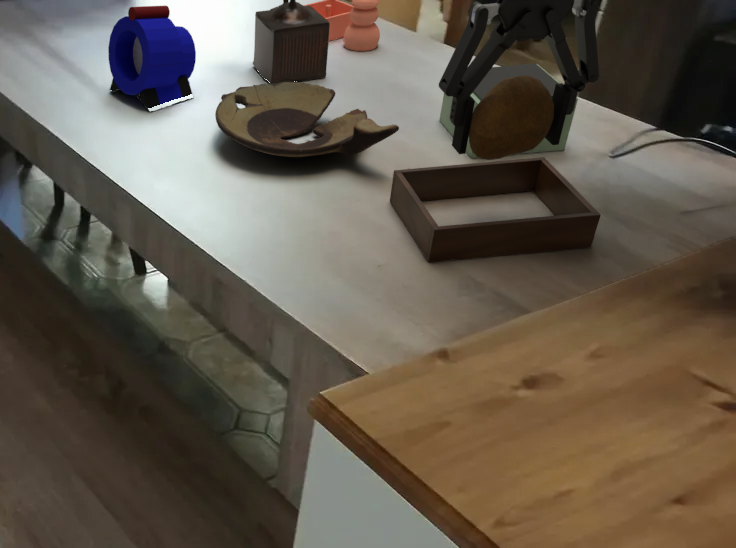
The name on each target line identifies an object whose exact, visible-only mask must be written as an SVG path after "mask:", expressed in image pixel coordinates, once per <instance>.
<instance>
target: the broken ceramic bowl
mask: <svg viewBox="0 0 736 548" xmlns="http://www.w3.org/2000/svg"><path fill="white" fill-rule="evenodd" d="M335 97H336V92H335V90H334V89H332V88H329V87H325V86H321V85H319V84H310V83H306V82H304V81H301V82H281V83H259V84H253V85H250V86H240V87H237V88H236V90H235V91H233V92H229V93H224V94H222V95H221V97H220V100H221V101H220V102H219V103H218V105H217V106H216V110H215V115H214V117H215V121H216V124H217V126H218V128H219V129H220V130H221V132H222V133H223V134H224V135H226V136H227V137H228V138H230V139H231V140H233V141H235V142H236V143H239V144H240V145H242V146H244V147H246V148H249V149H251V150H254V151H257V152H259V153H260V152H261V153H264V154H268V155H272V156H278V157H286V158H304V157H314V156H321V155H326V154H332V153H340V154H343V155H347V156H355V155H359V154H361V153H363V152H364V151H366V150H367V149H369V148H371V147H373V146H374V145H376V144H378V143H380V142H382V141H384V140H386V139H387V138H390V137H391V136H393V135H394V134H396V133H397V132H398V131H399V130H400V126H399V125H397V124H388V125H380V124H379V125H378V124H377V123H376V121H374V120H373V119H372V118H368V113H367V111H366V110H365V109H364V110H361V109H359V108H355V109H353V110H351V111H349V112H345V114H343V115H341V116H338V117H336V118H335V117H334V119H332V120H329V121H327V122H324V123H323V124H320V125H318V126H315V125H316V124H317V123H318V121H319V120H321V118H322V116H323V115H324V113H325V112H326V110H327V109H328V107H329V106H330V105H331V103H332V102H333V100H334V98H335ZM237 104H238V105H242V106H244V107H242V108H239V107H238V105H237ZM314 126H315V127H314ZM313 127H314V128H313ZM311 128H313V129H312V130H311ZM310 130H311V132H312V133H313V135H314V136H316V137H317V138H315V139H313V140H307V141H305V142H300V143H296V142H292V141H289V140H287V139H285V138H290V137H296V136H300V135H303V134H305V133H306V132H309V131H310Z"/></svg>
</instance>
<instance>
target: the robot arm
mask: <svg viewBox="0 0 736 548" xmlns="http://www.w3.org/2000/svg"><path fill="white" fill-rule="evenodd" d="M599 4H600V0H497V1H496V2H493V3H485V4H484V3H483V4H482V3H481V2H479V1H473V3H471V5H470V7H469V13H468V17H467V18H468V19H467V24H466V26H465V28H464V30H463V33H462V34H461V36H460V38H459V40H458V43H457V45H456V46H455V49H454V51H453V53H452V55H451V57H450V59H449V62H448V64H447V66H446V67H445V70H444V72H443V74H442V76H441V78H440V80H439V82H438V88H439V89H440V90H441V91H442V92H443V94H444V93H445V94H446V95H447V96H453V100H452V105H451V111H450V121H451V123H452V124H453V125H454V126H455V129H454V135H453V136H452V141H451V146H452V148H454V150H455V151H456V152H457V153H458V155H465V154H467V153H466V147H467V142H468V137H469V131H470V126H471V120H472V115H473V109H474V104H475V100H474V99H473V98H472V97H471V96H470V95H471V94H472V93H473V91H474V90H475V89H476V87H477V86H478V85H479V84H480V82H481V81H482V80H483V78H484V77H485V76H486V74H487V73H488V72H489V71H490V69H491V68H492V67H494V65H495V64H496V63H497V62H498V60H499V59H500V58H501V56H503V54H504V52H506V51H507V50H509V49H510V48H511V47H512V46H513V45H514V43H515V42H517V43H519V42H520V43H521V42H525V41H528V40H531V39H532V40H535V41H536V40H537V41H540V40H545V39H546V41H547V44H548V47H549V49H550V51H551V53H552V56H553V58H554V61H555V63H556V66H557V68H558V70H559V73H560V76H561V78H562V80H563V81H564V82H559V83H558V84H556V85H555V89H554V94H553V98H552V100H553V103H554V120H553V122H552V125H551V127H550V129H549V131H548V133H547V135H546V136H545V138H546V139H547V140H548V141H549V142H550V143H551V144H552V145H559V141H560V137H561V133H562V129H563V125H564V121H565V117H566V115H571V113H572V112H573V110H574V105H575V102H576V98H578V94H579V93H581V92H583V91H584V90H585V88H586V84H588V83H592V84H593V83H595V82H597V81H598V80H599V78H600V69H599V56H598V41H597V29H596V28H597V27H596V16H597V12H598V8H599ZM570 11H572V14H573V15H574V26H575V38H576V50H577V60H578V67H577V64H576V62H575V60H574V57H573V55H572V51H571V49H570V47H569V44H568V41H567V39H566V34H565V31H564V29H563V26H562V23H561V22H562V21H563V20H564V19H565V17H566V16H567V15H568V14H569V12H570ZM494 17H497V19H498V23H497V24H496V26H495V27H494V28H493V29H492V31H491V32H490V34H489V38H488V40H487V41H486V42H485V44H484V45H483V47H482V48H481V49H480V50H479V52H478V53H477V54H476V56H475V57H474V55H475V53H476V51H477V50H478V48H479V45H480V43H481V42H482V39H483V37H484V35H485V32H486V30H487V26H490V25H491V24H492V20H493V19H494ZM473 57H474V58H473Z"/></svg>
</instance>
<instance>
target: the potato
mask: <svg viewBox="0 0 736 548" xmlns="http://www.w3.org/2000/svg"><path fill="white" fill-rule="evenodd" d="M553 120H554V103H553V100H552V97H551V95H550V92H549V90H548V89H547V88H546V87H545V86H544V85H543V83H542V82H541V81H540V80H538V79H536V78H534V77H531V76H517V77H511V78H507V79H504V80H502V81H501V82H499V83H498V84H497V85H496V86H494V87H493V88H492V89H491V90H490V91H489V92H488V93H487V94H486V96H485V97H484V98H483V99H482V100H481V101H480V102H479V104H478V105H477V106H476V107H475V108H474V111H473V115H472V120H471V126H470V131H469V143H470V147H471V150H472V152H473V153H474V154H475V155H476V156H477V157H479V159H482V160H487V161H493V160H499V159H502V158H505V157H508V156H511V155H512V154H513V155H518V154H517V153H523V152H526V151H529V150H532V149H534V148H535V147H536V146H537V145H538V144H540V143H541V142H542V140H543V139H544V138H545V136H546V135H547V133H548V131H549V129H550V127H551V125H552V122H553Z"/></svg>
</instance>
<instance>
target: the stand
mask: <svg viewBox="0 0 736 548" xmlns="http://www.w3.org/2000/svg"><path fill="white" fill-rule="evenodd" d="M517 76H531V77H534V78H536V79H538V80H540V81H541V82H542V83H543V85H544V86H545V87H546V88H547V89H548V90H549V92H550V95H551V97H552V98H553V94H554V89H555V85H556V84H558V83H560V82H559V81H558V80H557V79H555V78H554V77H553V76H552V75H551V74H550V73H549V72H548V71H546V70H545V69H544V68H543V67H542V66H541V65H539V64H538V63H526V64H516V65H513V64H511V65H502V66H493V67H492V68H491V69H490V71H489V72H488V73H487V74H486V76H485V77H484V78H483V80H482V81H481V82H480V84H479V85H478V86H477V87H476V89H475V90H474V91H473V93H472V94H471V95H470V96H471V97H472V98H473V99H474V100H475V104H474V108H475V107H476V106H477V105H478V104H479V102H480V101H481V100H482V99H483V98H484V97H485V96H486V94H487V93H488V92H489V91H490V90H491V89H492V88H493V87H494V86H496V85H497V84H498V83H499V82H501V81H502V80H504V79H507V78H511V77H517ZM452 100H453V96H447V95H446V94H445V93H444V92H443V96H442V103H441V109H440V114H439V120H438V121H439V122H440V124H441V125H443V127H444V129H446V130H447V132H448V133H449V134H450V135H451V136H452V137H453V135H454V129H455V126H454V125H453V124H452V123H451V121H450V111H451V105H452ZM578 101H579V98H578V97H577V98H576V102H575V105H574V110H573V112H572V113H571V115H566V117H565V121H564V125H563V129H562V133H561V137H560V141H559V145H552V144H551V143H550V142H549V141H548V140H547V139H546V138H544V139H543V140H542V142H541V143H540V144H538V145H537V146H536V147H535V148H534V149H532V150H529V151H526V152H523V153H517V154H516V155H522V154H535V153H545V152H557V151H565V149H566V145H567V142H568V138H569V135H570V130H571V126H572V123H573V120H574V115H575V111H576V109H577V105H578ZM473 111H474V109H473ZM465 154H467V155H468V156H469V158H470V159H476V158H479V157H477V156H476V155H475V154H474V153H473V152H472V150H471V147H470V143H469V137H468V142H467V147H466V153H465ZM512 155H514V154H512ZM479 159H480V158H479Z"/></svg>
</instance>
